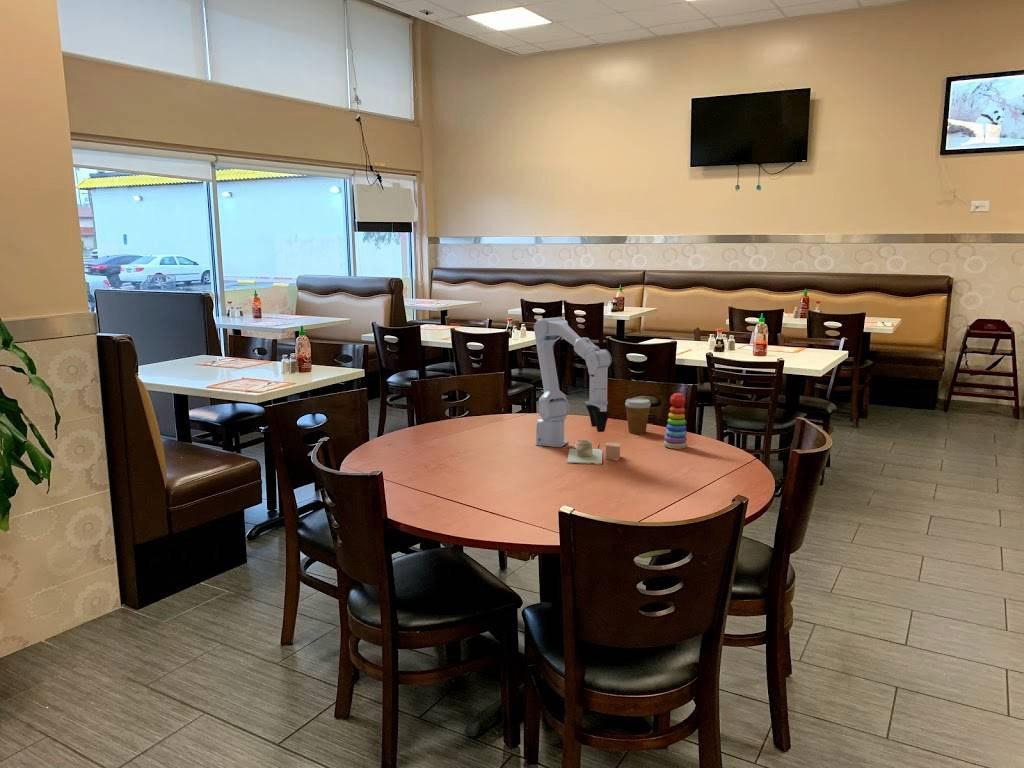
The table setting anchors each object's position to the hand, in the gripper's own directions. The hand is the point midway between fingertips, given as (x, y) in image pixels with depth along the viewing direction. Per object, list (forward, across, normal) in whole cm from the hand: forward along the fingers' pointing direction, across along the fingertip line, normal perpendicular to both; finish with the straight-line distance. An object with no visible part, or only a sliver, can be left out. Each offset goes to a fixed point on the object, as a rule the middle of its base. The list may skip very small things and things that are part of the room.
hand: (597, 429), depth 247 cm
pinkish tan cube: (+10, +1, +5) cm, 11 cm away
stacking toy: (+10, -10, +30) cm, 33 cm away
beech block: (+9, -1, -4) cm, 10 cm away
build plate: (+10, -1, -4) cm, 10 cm away
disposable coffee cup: (+10, -32, +23) cm, 40 cm away
